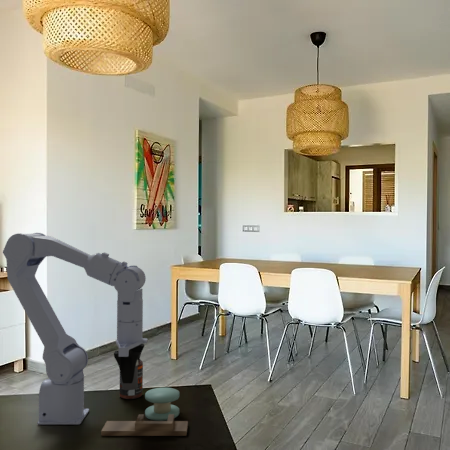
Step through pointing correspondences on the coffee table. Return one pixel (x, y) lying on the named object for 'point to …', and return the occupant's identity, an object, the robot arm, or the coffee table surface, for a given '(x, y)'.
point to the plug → (135, 381)
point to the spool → (161, 403)
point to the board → (145, 427)
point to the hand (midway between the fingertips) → (129, 379)
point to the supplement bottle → (136, 392)
